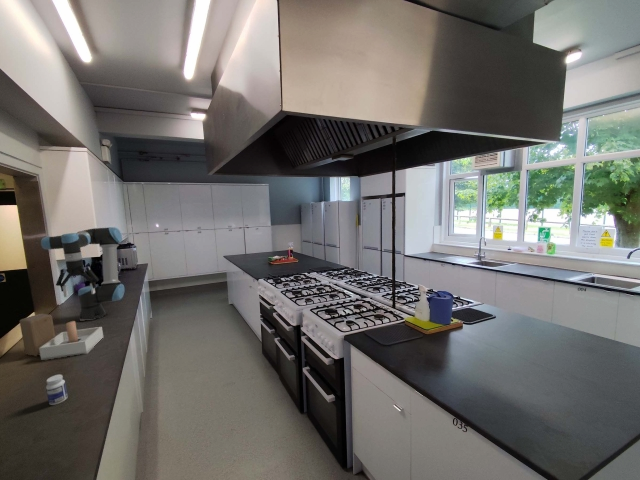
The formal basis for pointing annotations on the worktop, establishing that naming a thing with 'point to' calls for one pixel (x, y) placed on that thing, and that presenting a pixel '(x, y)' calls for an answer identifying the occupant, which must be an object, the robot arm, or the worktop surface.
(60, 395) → the pill bottle
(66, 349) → the tub
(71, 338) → the peg
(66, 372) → the worktop surface
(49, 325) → the wooden block
